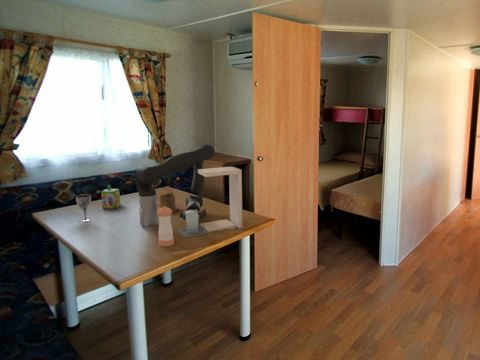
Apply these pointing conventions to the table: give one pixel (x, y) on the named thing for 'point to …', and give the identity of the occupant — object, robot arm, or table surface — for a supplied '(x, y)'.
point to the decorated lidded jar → (110, 198)
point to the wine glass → (84, 203)
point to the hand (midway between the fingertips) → (192, 217)
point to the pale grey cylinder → (192, 221)
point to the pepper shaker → (165, 227)
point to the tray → (185, 235)
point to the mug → (167, 201)
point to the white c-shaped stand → (235, 198)
